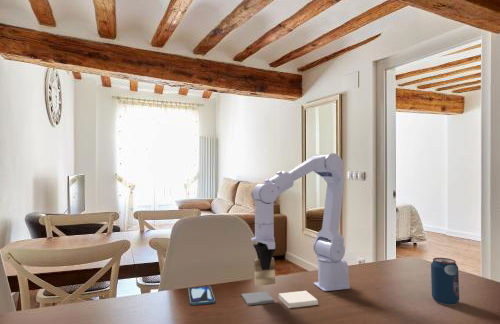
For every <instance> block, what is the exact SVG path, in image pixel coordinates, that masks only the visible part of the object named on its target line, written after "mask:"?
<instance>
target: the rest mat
mask: <svg viewBox="0 0 500 324" xmlns="http://www.w3.org/2000/svg"><path fill="white" fill-rule="evenodd" d="M240 295H241V298H242V300H244V302H245V303H246V305H247V306H254V305H257V306H258V305H264V304H273V303H275V300H274V298H273V297H272V296H271V295H270V294H269V293H268V292H267V291H258V292H257V291H255V292H248V293H241V294H240Z"/></svg>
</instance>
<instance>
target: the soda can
mask: <svg viewBox="0 0 500 324" xmlns="http://www.w3.org/2000/svg"><path fill="white" fill-rule="evenodd" d="M456 261H457V260H455V259H451V258H446V257H434V258H432V262H431V263H430V275H431V276H430V277H431V280H430V283H431V284H430V285H431V297H432V299H433V300H434V301H435V303H437V304H439V305H444V306H456V305H458V303H459V302H460V283H459V282H460V281H459V280H460V278H459V266H458V264H457V263H456Z"/></svg>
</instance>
